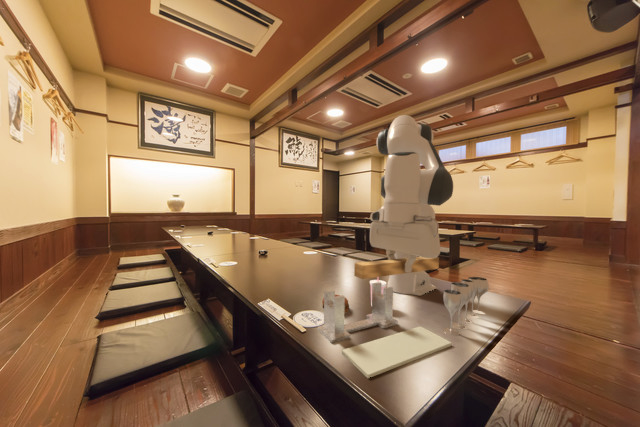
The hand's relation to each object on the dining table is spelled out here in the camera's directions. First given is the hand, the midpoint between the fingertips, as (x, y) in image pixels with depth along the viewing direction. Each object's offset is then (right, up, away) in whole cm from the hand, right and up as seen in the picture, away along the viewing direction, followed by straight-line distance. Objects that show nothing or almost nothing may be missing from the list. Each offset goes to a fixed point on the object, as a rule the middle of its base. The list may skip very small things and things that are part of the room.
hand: (400, 269), depth 61 cm
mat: (0, -20, 0) cm, 20 cm away
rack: (-8, -20, +12) cm, 25 cm away
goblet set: (+27, -21, +17) cm, 39 cm away
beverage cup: (+1, -20, +28) cm, 35 cm away
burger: (-15, -20, +25) cm, 35 cm away
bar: (0, -1, 0) cm, 1 cm away
